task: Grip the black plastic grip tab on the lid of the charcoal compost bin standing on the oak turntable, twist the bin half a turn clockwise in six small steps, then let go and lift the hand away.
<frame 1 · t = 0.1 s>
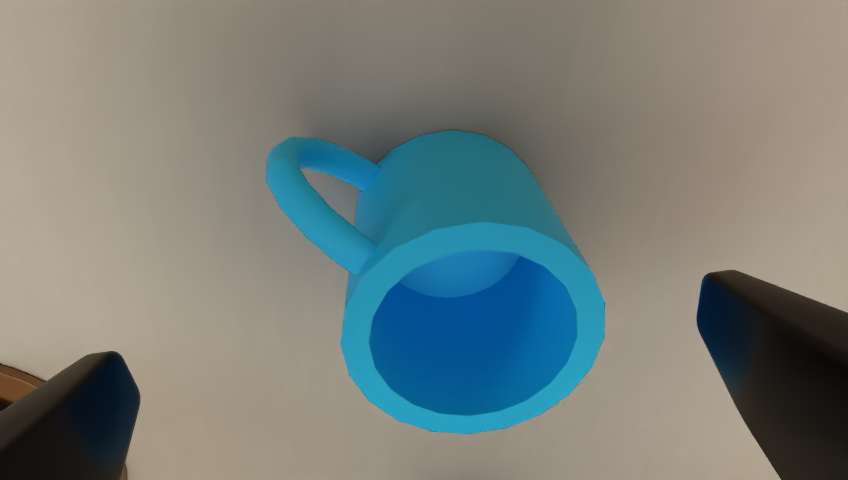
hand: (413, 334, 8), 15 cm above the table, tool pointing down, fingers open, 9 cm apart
mug: (413, 195, 24), on the table
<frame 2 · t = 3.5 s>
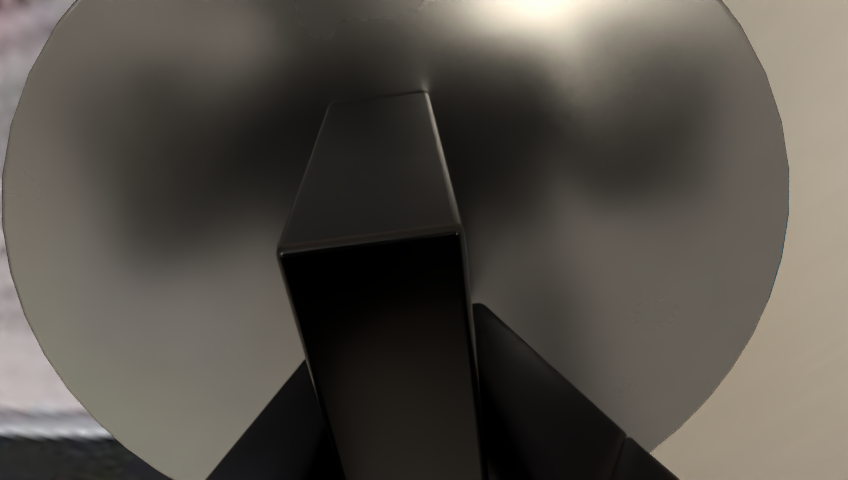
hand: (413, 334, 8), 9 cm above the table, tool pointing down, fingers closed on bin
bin: (408, 258, 10), point 6 cm above the table, hinge at 0.0°, touching gripper
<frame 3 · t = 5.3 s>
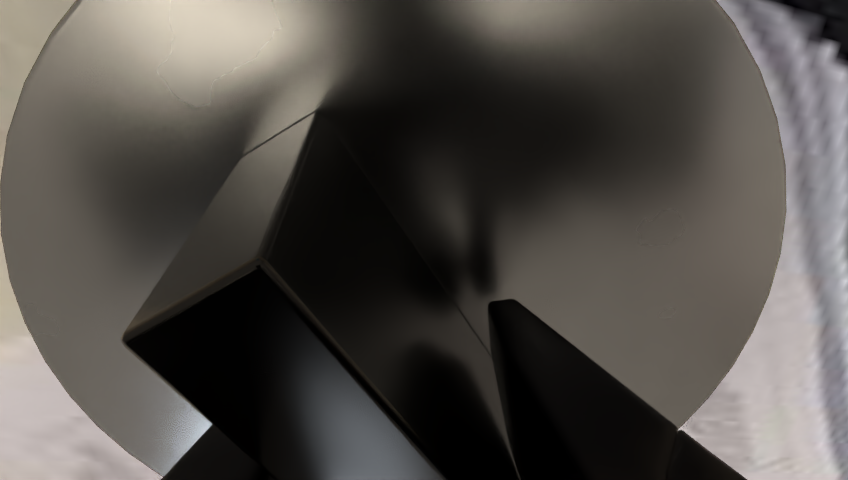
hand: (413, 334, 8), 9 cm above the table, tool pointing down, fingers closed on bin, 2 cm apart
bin: (406, 260, 10), point 6 cm above the table, hinge at -96.2°, touching gripper
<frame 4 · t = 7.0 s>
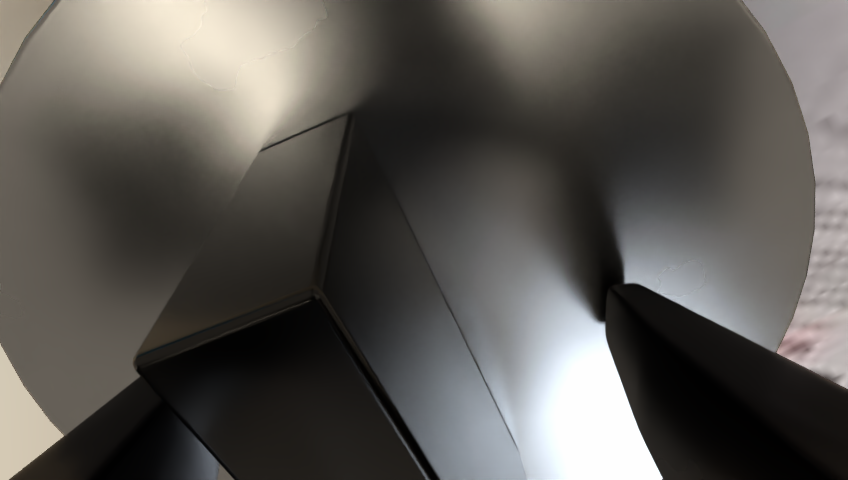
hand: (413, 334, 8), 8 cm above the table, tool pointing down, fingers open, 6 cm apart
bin: (408, 278, 10), point 6 cm above the table, hinge at -144.9°
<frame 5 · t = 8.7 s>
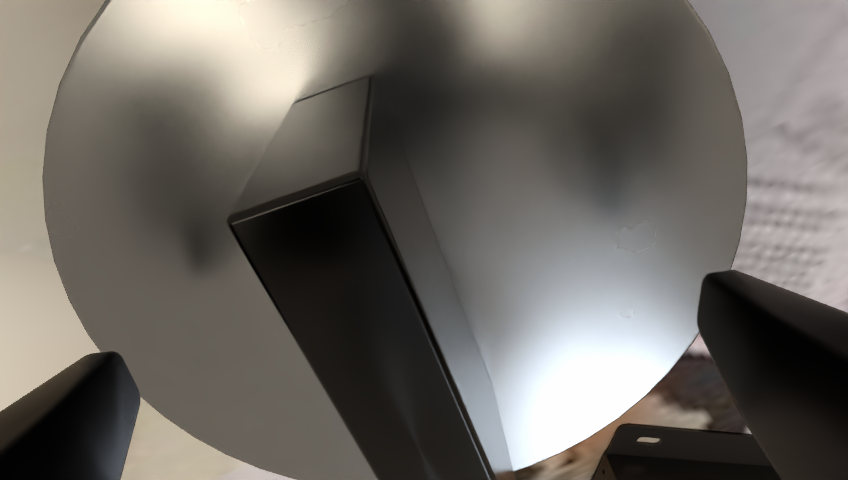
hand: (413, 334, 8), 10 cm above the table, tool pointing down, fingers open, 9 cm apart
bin: (405, 231, 11), point 6 cm above the table, hinge at -144.9°
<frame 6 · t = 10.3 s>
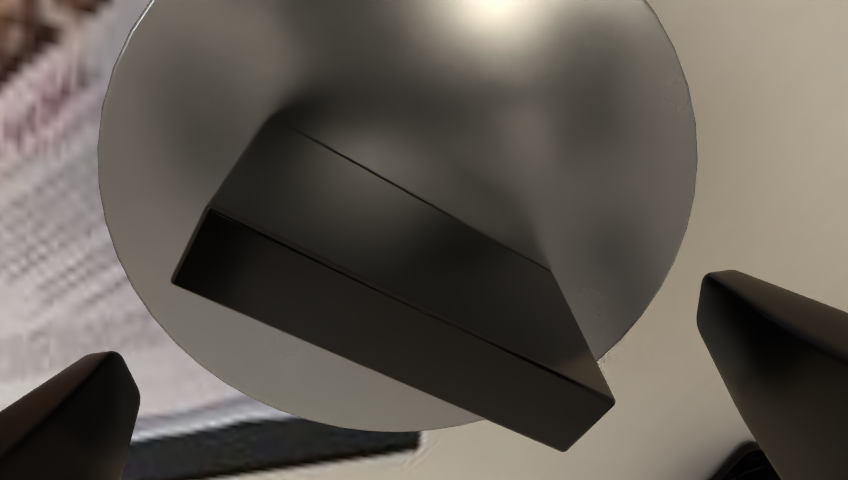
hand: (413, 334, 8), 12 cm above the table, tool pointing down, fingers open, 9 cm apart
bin: (404, 196, 13), point 6 cm above the table, hinge at -144.9°
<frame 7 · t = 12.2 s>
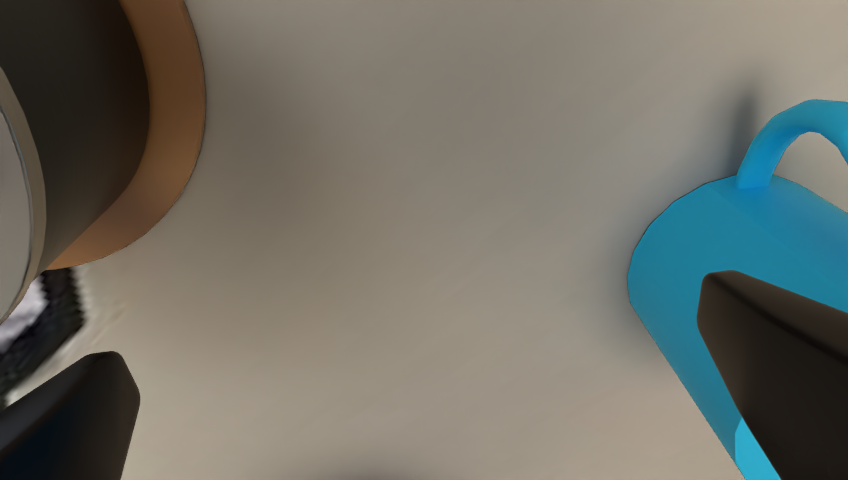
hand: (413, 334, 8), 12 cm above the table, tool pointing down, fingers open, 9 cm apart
mug: (728, 222, 22), on the table
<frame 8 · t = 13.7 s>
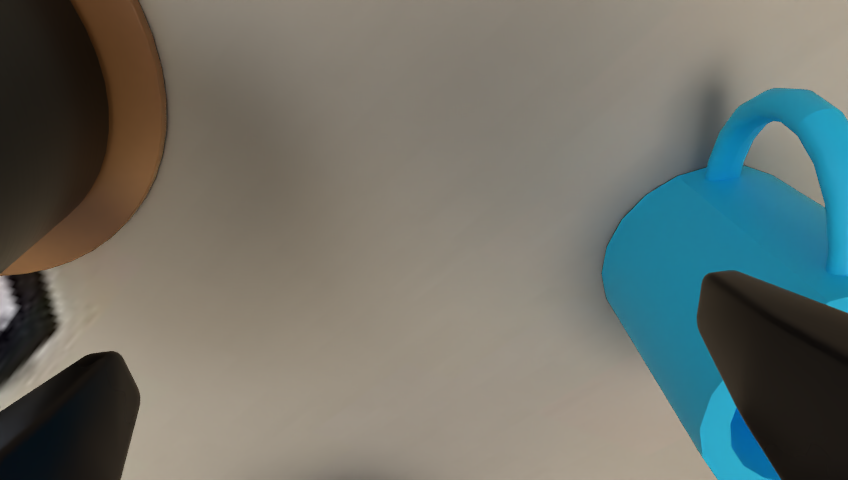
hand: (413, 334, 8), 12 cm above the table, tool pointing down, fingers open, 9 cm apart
mug: (702, 214, 22), on the table
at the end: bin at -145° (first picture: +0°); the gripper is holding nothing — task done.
